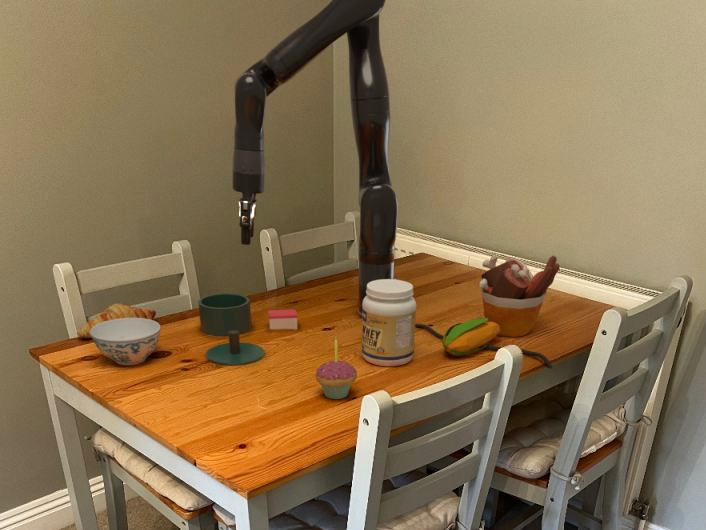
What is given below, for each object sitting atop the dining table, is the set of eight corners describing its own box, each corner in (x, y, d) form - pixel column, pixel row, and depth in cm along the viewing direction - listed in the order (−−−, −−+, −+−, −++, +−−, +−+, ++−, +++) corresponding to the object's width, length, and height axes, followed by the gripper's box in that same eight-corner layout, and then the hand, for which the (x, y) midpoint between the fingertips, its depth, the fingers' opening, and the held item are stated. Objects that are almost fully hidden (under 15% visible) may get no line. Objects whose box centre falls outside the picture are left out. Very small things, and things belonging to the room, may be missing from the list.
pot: (261, 327, 190) (259, 298, 186) (231, 341, 181) (229, 311, 177) (221, 319, 195) (219, 290, 191) (191, 333, 186) (188, 303, 182)
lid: (275, 353, 175) (274, 328, 172) (242, 372, 165) (240, 346, 162) (229, 343, 180) (227, 318, 177) (194, 361, 170) (191, 335, 167)
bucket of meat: (461, 331, 190) (467, 251, 179) (489, 314, 201) (497, 238, 190) (534, 348, 180) (545, 264, 170) (559, 329, 192) (572, 250, 181)
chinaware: (129, 379, 161) (123, 345, 156) (82, 364, 167) (75, 331, 163) (178, 358, 171) (174, 325, 167) (132, 345, 178) (127, 313, 174)
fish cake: (296, 324, 192) (295, 309, 190) (297, 330, 188) (297, 314, 186) (269, 325, 191) (268, 310, 189) (269, 331, 188) (269, 315, 185)
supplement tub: (351, 355, 174) (351, 283, 165) (391, 345, 181) (393, 274, 171) (383, 372, 166) (385, 296, 157) (424, 360, 172) (428, 287, 163)
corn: (435, 324, 171) (488, 305, 183) (431, 355, 175) (483, 335, 187) (460, 334, 167) (512, 314, 179) (455, 365, 171) (507, 344, 183)
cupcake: (315, 387, 159) (314, 332, 152) (355, 386, 159) (355, 331, 153) (317, 403, 151) (315, 347, 145) (358, 402, 152) (358, 346, 146)
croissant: (88, 357, 180) (89, 333, 174) (66, 329, 183) (66, 304, 176) (163, 335, 193) (167, 311, 186) (141, 309, 195) (145, 285, 189)
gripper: (262, 176, 170) (260, 248, 179) (266, 167, 182) (264, 235, 191) (229, 172, 170) (228, 245, 178) (235, 164, 182) (235, 232, 190)
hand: (247, 240), depth 185 cm, fingers open, 8 cm apart
